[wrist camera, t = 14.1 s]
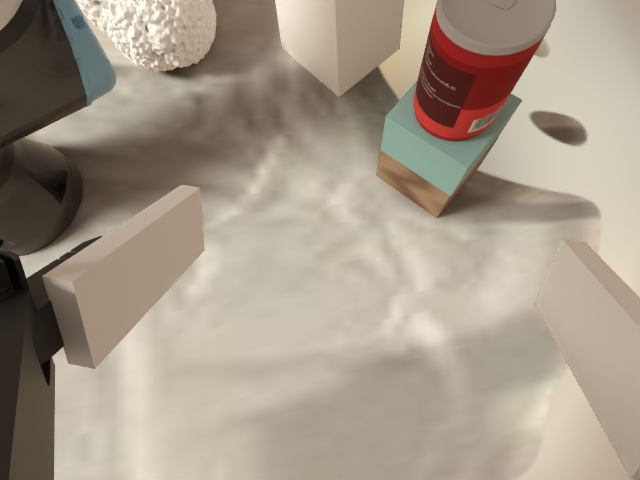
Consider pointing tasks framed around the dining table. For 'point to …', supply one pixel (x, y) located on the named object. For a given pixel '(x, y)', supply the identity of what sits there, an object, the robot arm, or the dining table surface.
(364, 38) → the milk
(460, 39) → the canned food
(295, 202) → the dining table surface
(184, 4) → the cauliflower
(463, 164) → the teal block
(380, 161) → the walnut block
